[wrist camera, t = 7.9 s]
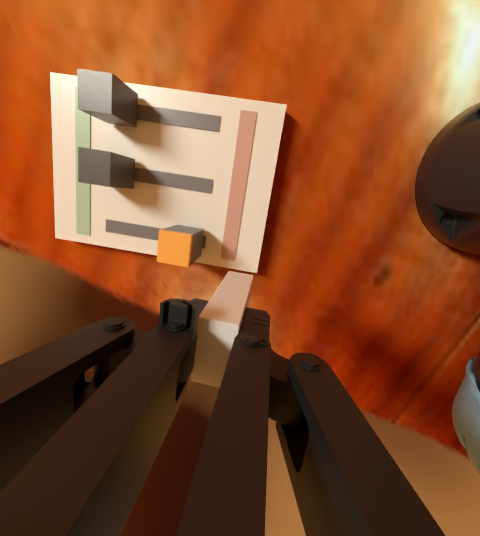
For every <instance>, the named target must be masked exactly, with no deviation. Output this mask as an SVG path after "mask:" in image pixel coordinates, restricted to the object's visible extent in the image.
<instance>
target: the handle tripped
mask: <svg viewBox="0 0 480 536" xmlns="http://www.w3.org/2000/svg"><path fill="white" fill-rule="evenodd" d="M203 236H204V229H201V228H195V227H189V226H183V225H174V226H171V227H167V228H164V229H160V230H159V236H158V250H157V262H161V263H167V264H173V265H178V266H184V267H189V266H190V265H191V264H192V263H193V262H195V261H196V260H197V259H198V258H199V257H200V256H201V253H202V244H203Z"/></svg>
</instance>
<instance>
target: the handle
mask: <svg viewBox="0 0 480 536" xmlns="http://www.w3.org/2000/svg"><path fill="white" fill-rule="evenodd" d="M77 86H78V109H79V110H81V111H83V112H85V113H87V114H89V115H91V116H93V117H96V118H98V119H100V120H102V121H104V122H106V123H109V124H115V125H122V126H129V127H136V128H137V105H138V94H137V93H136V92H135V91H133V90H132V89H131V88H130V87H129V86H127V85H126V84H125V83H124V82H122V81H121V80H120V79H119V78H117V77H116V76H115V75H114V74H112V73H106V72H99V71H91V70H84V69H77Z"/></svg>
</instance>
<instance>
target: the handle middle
mask: <svg viewBox="0 0 480 536" xmlns="http://www.w3.org/2000/svg"><path fill="white" fill-rule="evenodd" d="M134 173H135V159H133V158H130V157H126V156H123V155H120V154H116V153H113V152H109V151H102V150H96V149H89V148H83V147H78V182H81V183H87V184H93V185H100V186H106V187H115V188H128V189H134Z"/></svg>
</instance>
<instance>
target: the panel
mask: <svg viewBox="0 0 480 536" xmlns="http://www.w3.org/2000/svg"><path fill="white" fill-rule="evenodd" d="M50 82H51V114H52V145H53V176H54V207H55V238H59V239H65V240H70V241H76V242H82V243H87V244H93V245H99V246H105V247H110V248H116V249H122V250H127V251H133V252H139V253H145V254H150V255H156V256H157V250H158V236H159V230H160V229H164V228H167V227H171V226H174V225H183V226H189V227H195V228H201V229H204V236H203V244H202V253H201V256H200V257H199V258H198V259H197V260H196V261H195V262H196V263H202V264H207V265H213V266H219V267H225V268H230V269H236V270H242V271H247V272H253V273H257V270H258V264H259V259H260V253H261V247H262V242H263V236H264V230H265V225H266V219H267V213H268V208H269V202H270V196H271V191H272V185H273V179H274V174H275V168H276V163H277V157H278V151H279V146H280V140H281V134H282V129H283V123H284V117H285V112H286V106H287V105H285V104H277V103H270V102H263V101H256V100H248V99H241V98H234V97H227V96H219V95H212V94H205V93H198V92H190V91H183V90H176V89H168V88H161V87H154V86H147V85H139V84H132V83H125V82H124V83H125V84H126V85H127V86H129V87H130V88H131V89H132V90H133V91H135V92H136V93H137V94H138V105H137V128H136V127H129V126H122V125H115V124H109V123H106V122H104V121H102V120H100V119H98V118H96V117H93V116H91V115H89V114H87V113H85V112H83V111H81V110H79V109H78V86H77V76H74V75H67V74H60V73H52V72H50ZM78 147H83V148H89V149H96V150H102V151H109V152H113V153H116V154H120V155H123V156H126V157H130V158H133V159H135V173H134V189H128V188H115V187H106V186H100V185H93V184H87V183H81V182H78Z"/></svg>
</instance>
